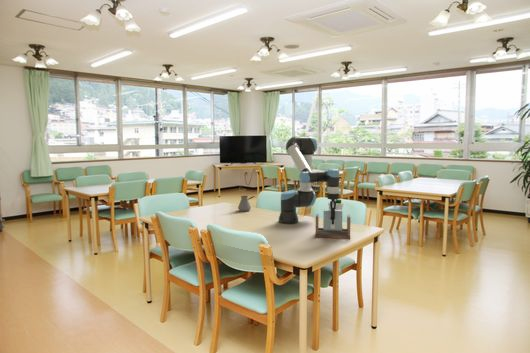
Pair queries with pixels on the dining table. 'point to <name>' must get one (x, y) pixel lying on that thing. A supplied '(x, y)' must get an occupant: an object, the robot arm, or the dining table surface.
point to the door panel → (328, 221)
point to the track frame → (333, 234)
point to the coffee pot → (244, 204)
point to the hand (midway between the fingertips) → (332, 228)
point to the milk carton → (337, 205)
